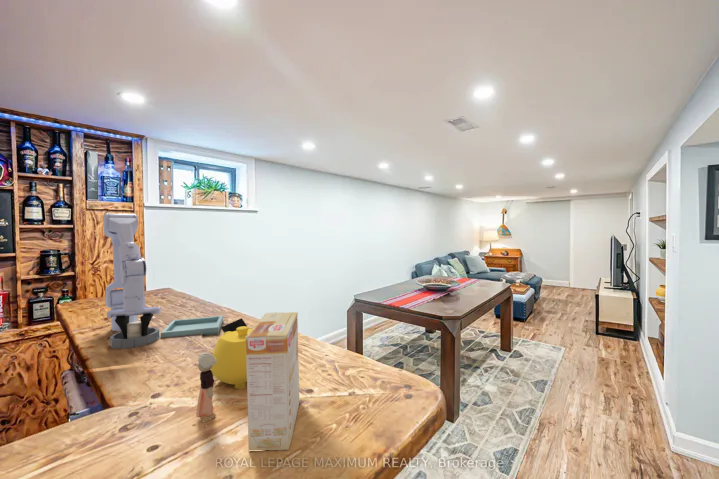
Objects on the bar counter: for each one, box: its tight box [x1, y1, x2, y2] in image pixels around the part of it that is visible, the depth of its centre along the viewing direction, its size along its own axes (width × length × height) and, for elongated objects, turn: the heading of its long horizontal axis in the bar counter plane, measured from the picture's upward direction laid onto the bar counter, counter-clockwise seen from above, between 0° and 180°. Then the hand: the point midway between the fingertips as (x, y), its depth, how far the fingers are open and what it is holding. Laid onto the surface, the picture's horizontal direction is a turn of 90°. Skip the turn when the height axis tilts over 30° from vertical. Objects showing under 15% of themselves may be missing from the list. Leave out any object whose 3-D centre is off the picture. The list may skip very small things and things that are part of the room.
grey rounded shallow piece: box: [109, 326, 160, 350], centre depth 103 cm, size 13×13×4 cm
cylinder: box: [127, 320, 142, 339], centre depth 103 cm, size 4×4×6 cm
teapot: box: [210, 326, 253, 390], centre depth 77 cm, size 14×20×13 cm
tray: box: [160, 315, 224, 339], centre depth 116 cm, size 16×18×2 cm
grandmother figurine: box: [195, 352, 217, 422], centre depth 61 cm, size 8×4×13 cm, turn 45°
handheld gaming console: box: [221, 318, 248, 334], centre depth 107 cm, size 12×7×10 cm
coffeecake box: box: [245, 311, 300, 451], centre depth 58 cm, size 15×7×20 cm, turn 4°
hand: (135, 337), depth 103 cm, fingers closed on cylinder, 4 cm apart
